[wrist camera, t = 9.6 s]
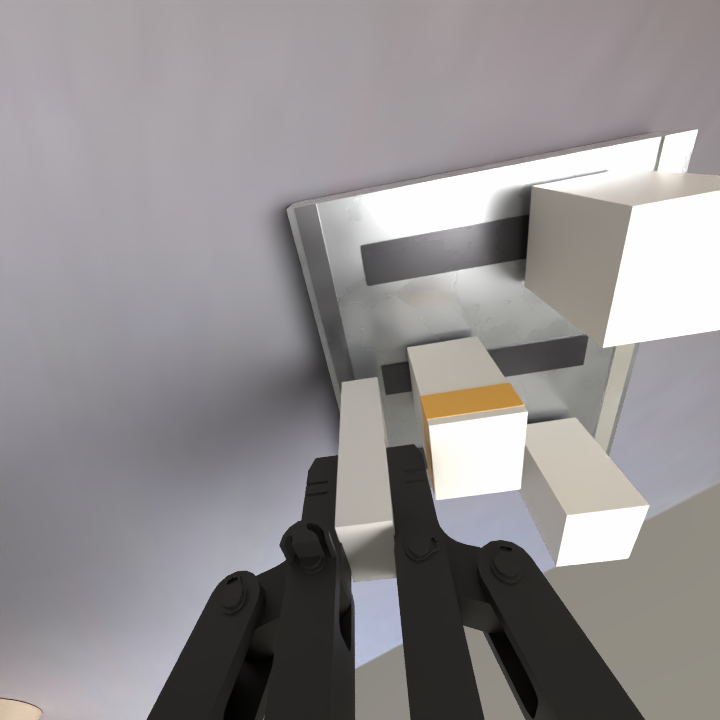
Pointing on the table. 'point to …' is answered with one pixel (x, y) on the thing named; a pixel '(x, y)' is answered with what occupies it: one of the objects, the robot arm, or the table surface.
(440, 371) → the block
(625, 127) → the table surface
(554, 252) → the block
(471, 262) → the panel
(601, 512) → the breaker low
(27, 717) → the water bottle
